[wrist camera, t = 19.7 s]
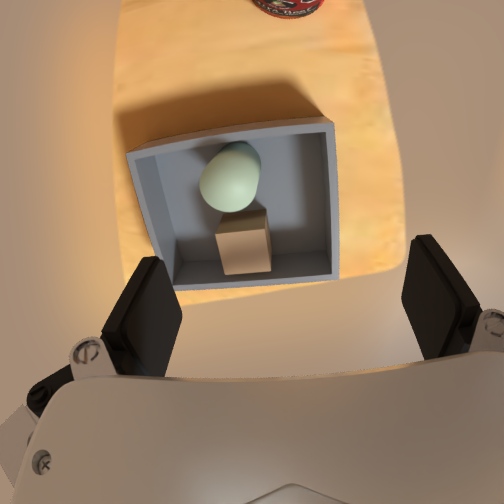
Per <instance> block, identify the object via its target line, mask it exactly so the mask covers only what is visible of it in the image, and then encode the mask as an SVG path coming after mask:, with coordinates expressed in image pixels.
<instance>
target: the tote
mask: <svg viewBox="0 0 504 504" xmlns="http://www.w3.org/2000/svg"><path fill="white" fill-rule="evenodd" d="M234 142H241V143H245V144H248V145H250V146H251V147H253V148H254V149H255V150H256V151H257V153H258V154H259V156H260V159H261V172H260V176H259V181H258V185H257V190H256V194H255V197H254V198H253V200H252V202H251V203H250V204H249V205H248V206H246V207H245V208H243V209H241V210H239V211H235V212H244V211H252V210H262V209H267V216H268V223H269V229H270V236H271V243H272V260H271V271H267V272H255V273H243V274H231V275H225V273H224V269H223V265H222V261H221V257H220V252H219V248H218V244H217V240H216V236H215V233H216V231H217V228H218V226H219V223H220V221H221V218H222V215H223V214H227V213H235V212H223V211H220V210H217V209H215V208H213V207H212V206H210V205H209V204H208V203H207V202H206V201H205V199H204V198H203V196H202V194H201V191H200V186H199V181H200V176H201V174H202V171H203V170H204V168H205V167H206V166H207V165H208V164H209V162H210V161H211V160H212V159H213V158H214V157H215V155H216V154H217V153H218V152H219V151H220V150H221V149H222V148H223V147H224V146H226V145H228V144H230V143H234ZM126 157H127V161H128V165H129V169H130V173H131V176H132V180H133V184H134V187H135V191H136V194H137V198H138V201H139V205H140V208H141V211H142V215H143V218H144V221H145V225H146V228H147V231H148V234H149V237H150V240H151V243H152V247H153V250H154V253H155V256H158V257H159V258H160V259H162V260H163V261H164V263H165V265H166V268H167V271H168V274H169V277H170V280H171V283H172V286H173V289H174V291H186V290H205V289H223V288H239V287H254V286H268V285H281V284H294V283H307V282H318V281H330V280H339V197H338V174H337V156H336V142H335V129H334V122H332V121H331V120H330V119H328V118H327V117H325V116H318V117H304V118H292V119H282V120H272V121H263V122H255V123H247V124H240V125H233V126H226V127H220V128H214V129H208V130H202V131H197V132H191V133H186V134H181V135H176V136H171V137H167V138H162V139H158V140H153V141H149V142H146V143H144V144H142V145H140V146H139V147H137V148H135V149H133V150H131V151H130V152H128V153H126Z"/></svg>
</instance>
